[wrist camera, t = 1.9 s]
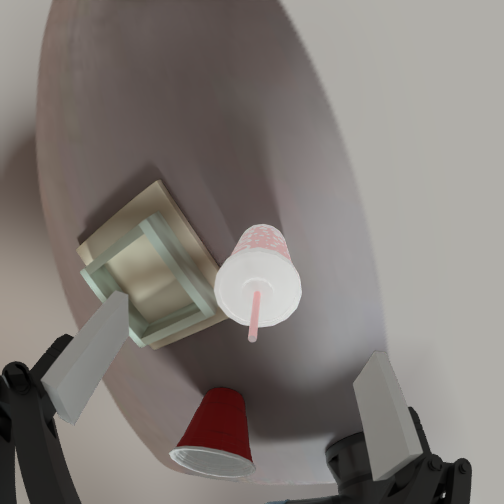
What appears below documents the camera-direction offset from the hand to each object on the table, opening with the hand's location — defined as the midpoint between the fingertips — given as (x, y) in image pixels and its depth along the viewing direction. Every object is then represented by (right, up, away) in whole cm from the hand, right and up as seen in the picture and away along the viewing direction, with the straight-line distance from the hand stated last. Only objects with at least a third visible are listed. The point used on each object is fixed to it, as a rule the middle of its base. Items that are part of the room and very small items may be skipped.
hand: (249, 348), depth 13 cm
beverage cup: (+1, +5, +14) cm, 15 cm away
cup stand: (-11, +2, +16) cm, 20 cm away
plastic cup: (-4, -17, +24) cm, 29 cm away
